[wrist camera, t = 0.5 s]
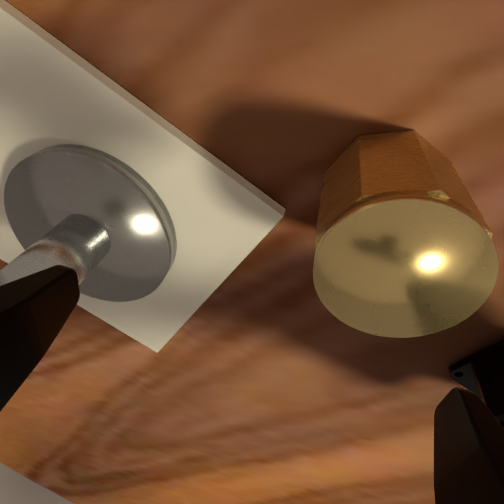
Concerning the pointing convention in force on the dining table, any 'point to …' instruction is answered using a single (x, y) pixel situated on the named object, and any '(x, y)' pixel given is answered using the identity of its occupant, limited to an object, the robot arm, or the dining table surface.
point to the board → (138, 158)
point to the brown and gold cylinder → (400, 239)
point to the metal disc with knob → (89, 222)
